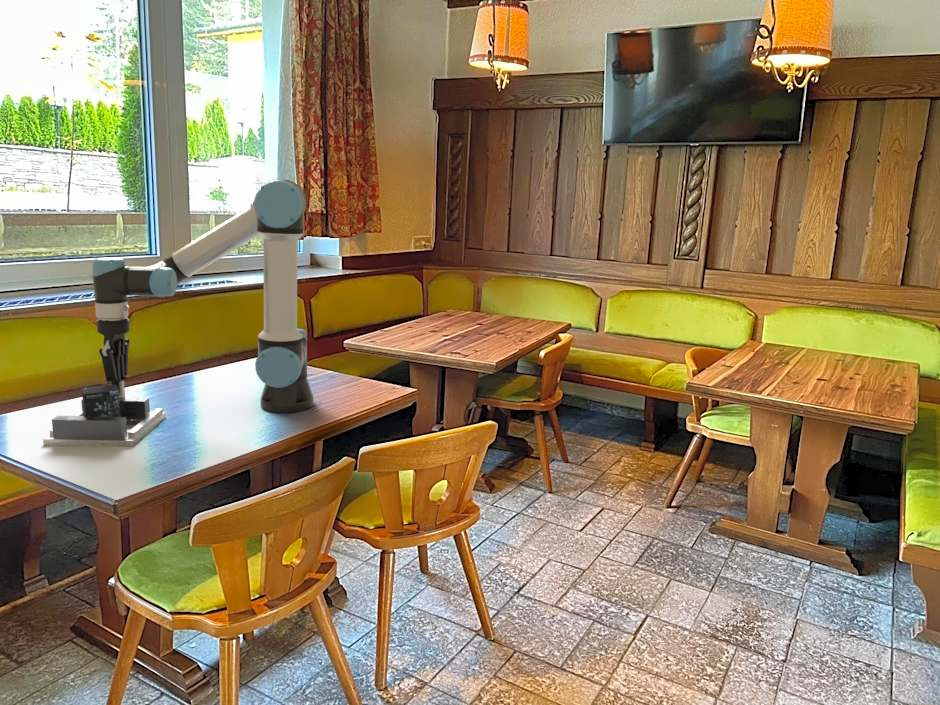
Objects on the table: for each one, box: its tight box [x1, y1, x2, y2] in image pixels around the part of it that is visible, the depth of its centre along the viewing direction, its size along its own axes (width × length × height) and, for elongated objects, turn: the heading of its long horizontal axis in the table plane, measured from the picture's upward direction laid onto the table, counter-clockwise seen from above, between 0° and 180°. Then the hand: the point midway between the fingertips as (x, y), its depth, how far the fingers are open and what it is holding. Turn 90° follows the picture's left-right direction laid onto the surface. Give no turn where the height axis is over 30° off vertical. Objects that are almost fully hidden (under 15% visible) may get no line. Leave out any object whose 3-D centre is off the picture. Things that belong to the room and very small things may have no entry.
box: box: [81, 384, 121, 417], centre depth 176 cm, size 8×6×11 cm
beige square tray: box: [42, 407, 166, 447], centre depth 180 cm, size 21×22×6 cm
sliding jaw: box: [81, 397, 151, 420], centre depth 185 cm, size 16×3×5 cm, turn 94°
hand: (119, 404), depth 187 cm, fingers closed
